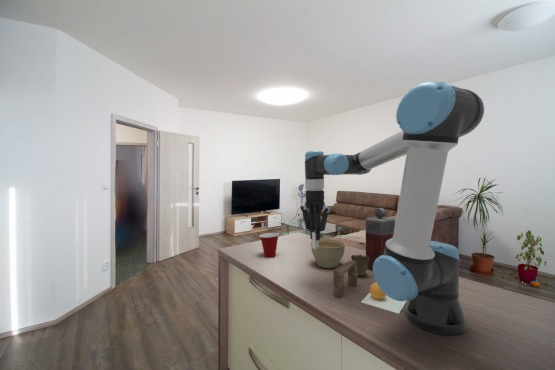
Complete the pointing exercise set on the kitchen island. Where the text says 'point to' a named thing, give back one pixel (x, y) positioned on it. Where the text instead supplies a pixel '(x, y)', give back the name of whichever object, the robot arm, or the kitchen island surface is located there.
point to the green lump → (361, 264)
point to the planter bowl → (328, 252)
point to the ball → (376, 291)
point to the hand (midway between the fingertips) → (315, 247)
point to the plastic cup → (269, 244)
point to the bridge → (339, 277)
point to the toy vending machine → (378, 235)
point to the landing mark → (384, 303)
